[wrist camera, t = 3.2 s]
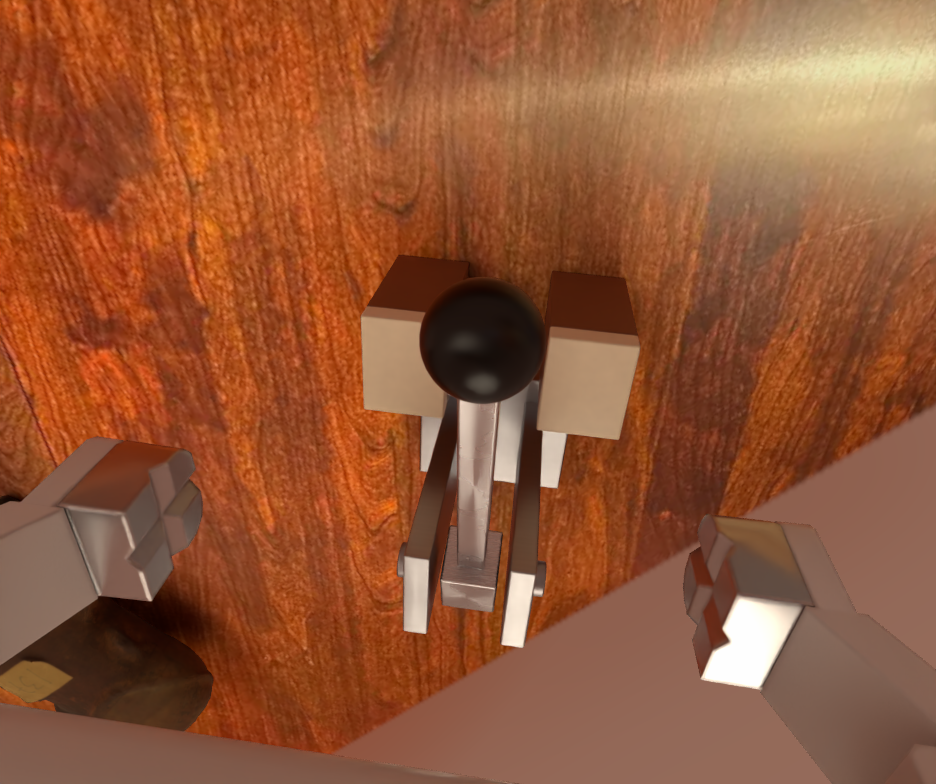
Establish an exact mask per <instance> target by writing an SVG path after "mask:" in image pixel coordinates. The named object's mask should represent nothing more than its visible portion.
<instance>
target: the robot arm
mask: <svg viewBox="0 0 936 784" xmlns="http://www.w3.org/2000/svg"><path fill="white" fill-rule="evenodd" d="M194 471H195V465H194V462H193V458H192V454H191V453H190V452H189V451H187V450H185V449H182V448H175V447H168V446H162V445H155V444H148V443H142V442H135V441H128V440H126V441H123V440H117V439H111V438H104V437H94V438H91V439H87V440H86V441H85V442H84V443H83V444H82V445H81V446H80V447H78V448H77V449H76V450H75V451H74V452H73V453H72V454H71V455H70V456H69V457H68V458H67V459H66V460H65V461H64V462H63V463H61V464H60V465H59V466H58V467H57V468H56V469H55V470H54V471H53V472H52V473H51V474H50V475H49V476H48V477H47V478H45V479H44V480H43V481H42V482H41V483H40V484H39V485H38V486H37V487H36V488H35V489H34V490H33V491H32V492H31V493H30V494H28V495H27V496H26V497H25V498H24V499H23V500H22V501H21V502H15V501H9V502H7V503H5V504H2V505H0V665H1V664H3V663H4V662H6V661H7V660H9V659H10V658H12V657H13V656H15V655H16V654H17V653H19V652H20V651H22V650H23V649H25V648H26V647H28V646H29V645H31V644H32V643H34V642H35V641H36V640H38V639H39V638H41V637H42V636H44V635H45V634H47V633H48V632H50V631H51V630H53V629H54V628H55V627H57V626H58V625H60V624H61V623H63V622H64V621H66V620H67V619H69V618H70V617H72V616H73V615H74V614H76V613H77V612H79V611H80V610H82V609H83V608H85V607H86V606H88V605H89V604H91V603H92V602H94V601H95V600H96V599H98V596H107V597H116V598H125V599H134V600H143V601H152V600H153V599H154V597H155V596H156V594H157V593H158V591H159V590H160V588H161V587H162V585H163V584H164V582H165V581H166V579H167V578H168V576H169V575H170V573H171V572H172V570H173V569H174V566H173V561H172V556H173V555H175V554H176V553H178V552H180V551H182V550H183V549H185V548H187V547H188V546H189V545H190V543H191V541H192V540H193V538H194V537H195V535H196V534H197V531H198V528H199V525H200V521H201V518H202V509H203V501H202V496H201V491H200V489H199V488H198V487H197V486H196V485H195V484H194V483H193V482H192V481H191V480H190V479H189V477H190V476H191V475H192V473H193V472H194ZM697 534H698V538H699V542H700V547H699V548H697V549H696V550H694V551H693V552H691V553H690V555H689V558H688V561H687V565H686V568H685V574H684V583H683V591H684V601H685V607H686V612H687V615H688V616H689V617H690V618H691V619H692V620H693V621H694V622H695V623H696V624H697V629H696V631H695V634H694V636H693V639H692V641H693V646H694V650H695V655H696V659H697V664H698V669H699V673H700V678H701V680H708V681H713V682H719V683H725V684H731V685H737V686H743V687H749V688H755V689H760V690H761V692H760V693H761V694H762V695H763V697H764V698H765V699H766V700H767V702H768V703H769V704H770V706H771V707H772V708H773V709H774V711H775V712H776V713H777V714H778V716H779V717H780V718H781V720H782V721H783V722H784V723H785V725H786V726H787V727H788V728H789V730H790V731H791V732H792V733H793V735H794V736H795V737H796V739H797V740H798V741H799V742H800V744H801V745H802V746H803V748H804V749H805V750H806V751H807V753H808V754H809V755H810V756H811V758H812V759H813V760H814V761H815V763H816V764H817V765H818V767H819V768H820V769H821V770H822V772H823V773H824V774H825V775H826V777H827V778H828V779H829V780H830V782H831V783H832V784H936V669H934V668H933V667H932V666H931V665H929V664H928V663H927V662H926V661H924V660H923V659H922V658H921V657H919V656H918V655H917V654H916V653H914V652H913V651H912V650H911V649H910V648H908V647H907V646H906V645H905V644H903V643H902V642H901V641H900V640H899V639H897V638H896V637H895V636H894V635H892V634H891V633H890V632H889V631H887V630H886V629H885V628H884V627H883V626H881V625H880V624H879V623H878V622H876V621H875V620H874V619H873V618H871V617H870V616H869V615H865V614H858V613H857V612H856V610H855V608H854V606H853V604H852V602H851V600H850V598H849V596H848V594H847V592H846V590H845V587H844V585H843V583H842V581H841V579H840V577H839V575H838V573H837V571H836V569H835V567H834V565H833V563H832V561H831V559H830V557H829V555H828V553H827V551H826V549H825V547H824V545H823V543H822V541H821V539H820V537H819V535H818V533H817V531H816V530H815V529H814V528H813V527H812V526H810V525H805V524H796V523H787V522H777V521H776V522H771V521H763V520H755V519H746V518H738V517H729V516H721V515H712V514H706V516H705V517H704V518H703V519H702V521H701V524H700V526H699V529H698V532H697ZM97 595H98V596H97ZM0 784H518V783H511V782H505V781H498V780H492V779H486V778H479V777H472V776H466V775H459V774H453V773H447V772H440V771H433V770H427V769H420V768H415V767H408V766H401V765H395V764H389V763H382V762H376V761H370V760H363V759H357V758H350V757H344V756H337V755H331V754H325V753H318V752H312V751H305V750H299V749H292V748H286V747H280V746H273V745H267V744H260V743H254V742H247V741H241V740H235V739H228V738H222V737H215V736H209V735H203V734H196V733H190V732H183V731H177V730H170V729H164V728H158V727H151V726H145V725H138V724H132V723H126V722H119V721H113V720H106V719H100V718H93V717H87V716H81V715H74V714H68V713H61V712H55V711H49V710H42V709H36V708H29V707H23V706H17V705H10V704H4V703H0Z"/></svg>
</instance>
